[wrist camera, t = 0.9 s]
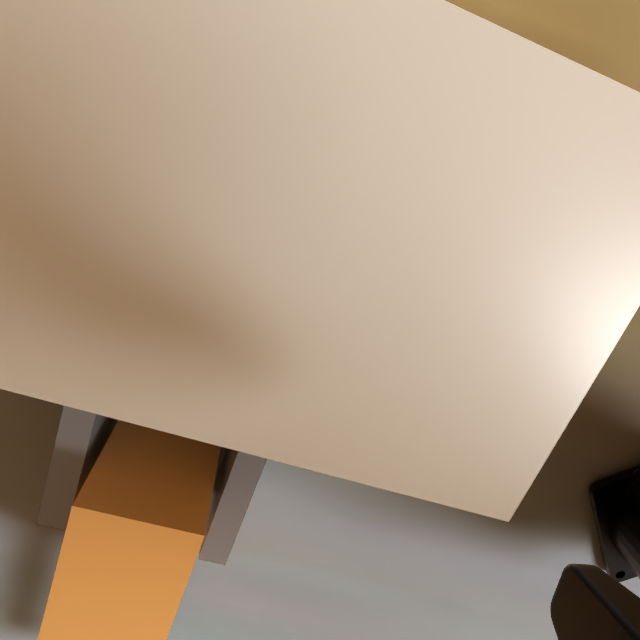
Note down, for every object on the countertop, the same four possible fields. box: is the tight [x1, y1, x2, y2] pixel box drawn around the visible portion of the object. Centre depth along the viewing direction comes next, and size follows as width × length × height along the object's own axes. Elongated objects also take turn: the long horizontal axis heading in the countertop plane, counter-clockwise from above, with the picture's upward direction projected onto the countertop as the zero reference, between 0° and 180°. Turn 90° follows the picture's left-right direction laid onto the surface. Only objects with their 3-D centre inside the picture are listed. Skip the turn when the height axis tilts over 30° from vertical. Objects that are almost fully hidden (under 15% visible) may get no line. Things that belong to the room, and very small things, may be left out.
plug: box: [38, 420, 221, 640], centre depth 20 cm, size 15×4×5 cm, turn 160°
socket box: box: [0, 0, 640, 565], centre depth 16 cm, size 18×18×9 cm
